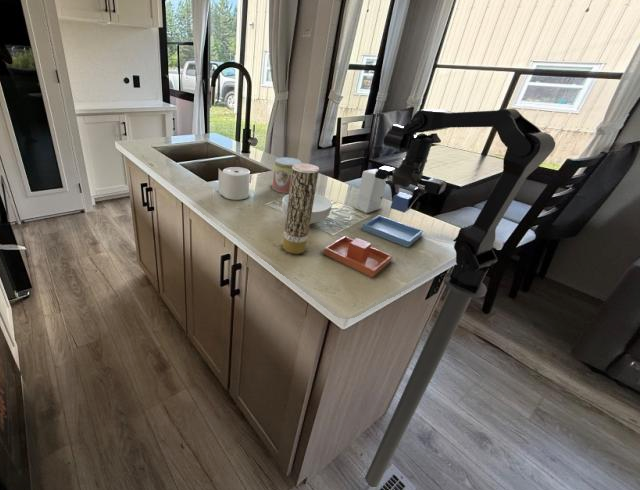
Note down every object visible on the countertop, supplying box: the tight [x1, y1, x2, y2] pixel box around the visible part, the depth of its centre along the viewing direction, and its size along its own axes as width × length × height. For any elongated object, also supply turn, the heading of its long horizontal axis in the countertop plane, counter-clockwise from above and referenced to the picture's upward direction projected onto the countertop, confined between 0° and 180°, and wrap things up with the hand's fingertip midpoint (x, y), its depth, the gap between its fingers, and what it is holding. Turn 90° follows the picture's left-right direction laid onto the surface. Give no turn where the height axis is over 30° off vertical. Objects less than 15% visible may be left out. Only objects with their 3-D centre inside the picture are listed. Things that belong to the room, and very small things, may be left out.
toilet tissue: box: [217, 166, 251, 201], centre depth 130 cm, size 11×12×10 cm
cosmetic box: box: [354, 168, 387, 214], centre depth 122 cm, size 8×6×15 cm
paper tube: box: [282, 162, 320, 255], centre depth 91 cm, size 7×7×25 cm
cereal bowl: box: [282, 193, 333, 225], centre depth 113 cm, size 17×17×7 cm
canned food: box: [271, 156, 303, 194], centre depth 138 cm, size 11×11×12 cm
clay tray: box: [323, 235, 393, 278], centre depth 93 cm, size 15×11×2 cm
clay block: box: [347, 237, 372, 262], centre depth 93 cm, size 4×4×4 cm
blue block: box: [390, 191, 413, 214], centre depth 101 cm, size 4×4×4 cm
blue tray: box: [361, 214, 424, 248], centre depth 108 cm, size 15×11×2 cm
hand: (401, 205), depth 101 cm, fingers closed on blue block, 4 cm apart
